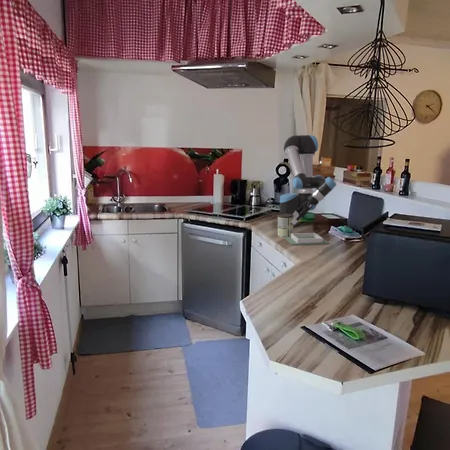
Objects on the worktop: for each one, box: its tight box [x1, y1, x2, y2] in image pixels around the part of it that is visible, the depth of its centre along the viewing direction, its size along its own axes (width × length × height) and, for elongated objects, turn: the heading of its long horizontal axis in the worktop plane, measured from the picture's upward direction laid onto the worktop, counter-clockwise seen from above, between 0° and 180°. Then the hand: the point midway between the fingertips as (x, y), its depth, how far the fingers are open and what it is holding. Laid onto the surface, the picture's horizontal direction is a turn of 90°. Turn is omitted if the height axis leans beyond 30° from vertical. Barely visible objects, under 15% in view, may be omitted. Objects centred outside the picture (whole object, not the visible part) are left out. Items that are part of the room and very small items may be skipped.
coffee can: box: [277, 213, 294, 239], centre depth 264 cm, size 10×10×14 cm
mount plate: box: [284, 232, 329, 246], centre depth 250 cm, size 17×22×4 cm
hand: (291, 221), depth 262 cm, fingers open, 13 cm apart
